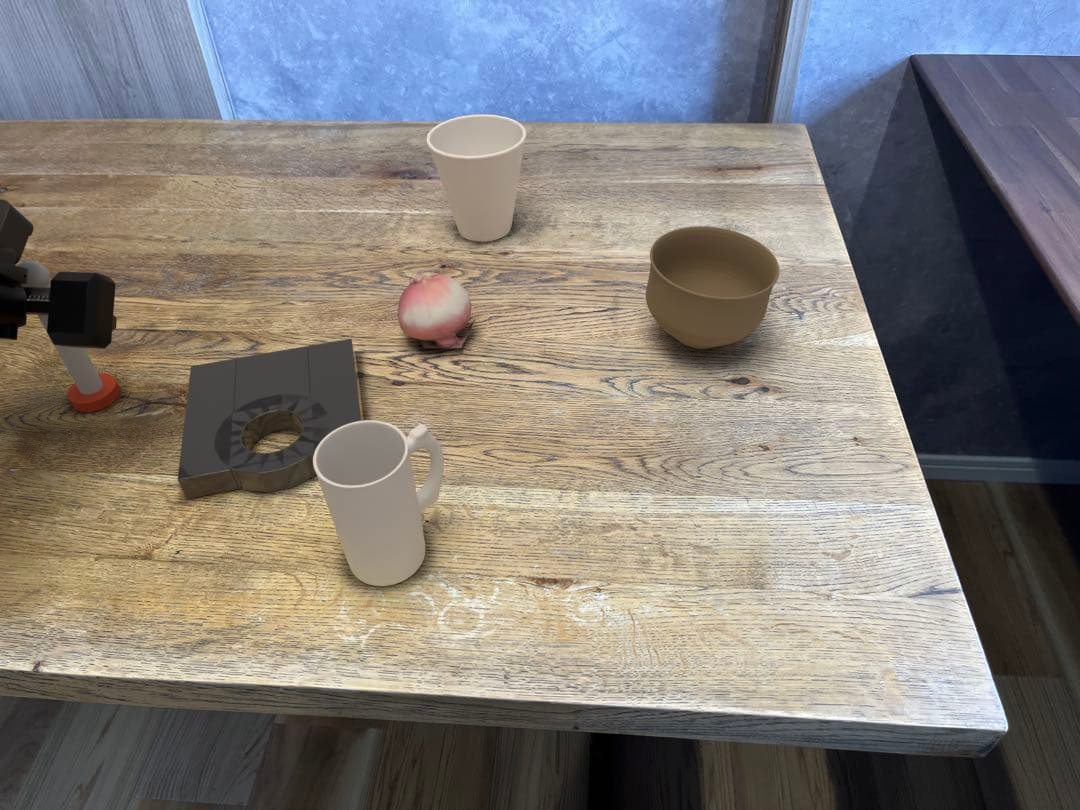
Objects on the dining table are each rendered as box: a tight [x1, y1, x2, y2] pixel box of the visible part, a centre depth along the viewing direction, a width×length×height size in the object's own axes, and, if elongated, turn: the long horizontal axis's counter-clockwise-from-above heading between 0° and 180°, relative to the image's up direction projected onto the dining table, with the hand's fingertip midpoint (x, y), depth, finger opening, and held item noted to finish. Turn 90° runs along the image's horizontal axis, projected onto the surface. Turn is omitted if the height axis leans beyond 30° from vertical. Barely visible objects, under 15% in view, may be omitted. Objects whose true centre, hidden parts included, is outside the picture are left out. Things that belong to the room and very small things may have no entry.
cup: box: [425, 113, 527, 243], centre depth 100 cm, size 12×12×12 cm
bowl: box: [645, 225, 780, 350], centre depth 83 cm, size 13×13×10 cm
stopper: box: [16, 260, 121, 413], centre depth 77 cm, size 5×5×16 cm
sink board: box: [177, 338, 365, 500], centre depth 77 cm, size 16×17×2 cm
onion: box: [397, 272, 477, 349], centre depth 85 cm, size 8×8×7 cm
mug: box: [313, 419, 445, 587], centre depth 63 cm, size 10×7×12 cm, turn 133°
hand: (69, 321), depth 78 cm, fingers open, 9 cm apart
